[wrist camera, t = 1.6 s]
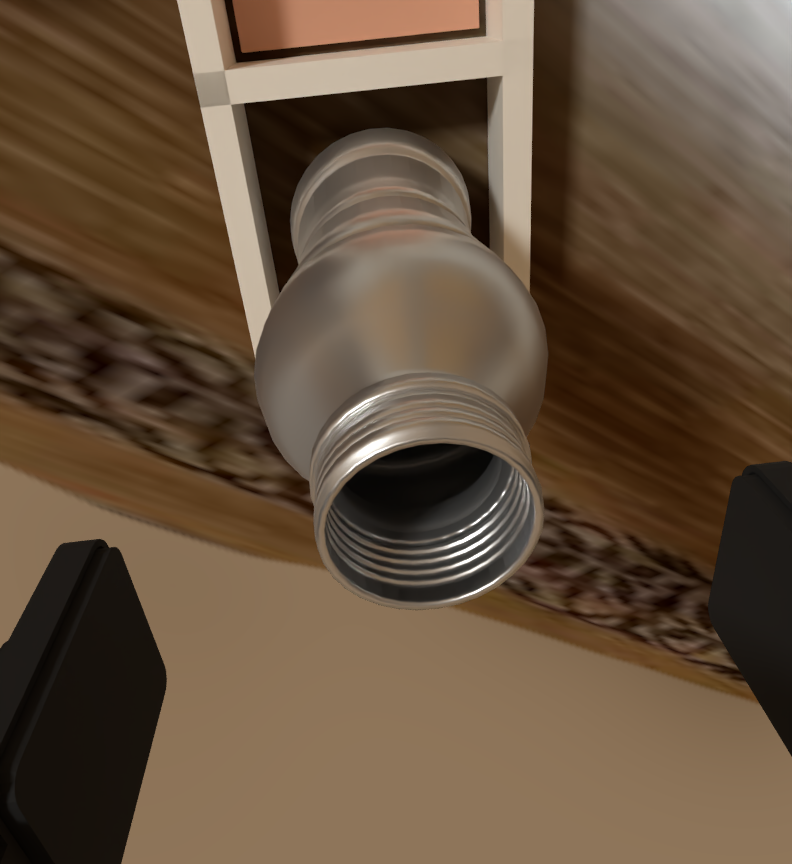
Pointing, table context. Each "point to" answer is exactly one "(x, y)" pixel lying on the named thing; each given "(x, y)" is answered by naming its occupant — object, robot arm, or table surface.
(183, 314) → the table surface
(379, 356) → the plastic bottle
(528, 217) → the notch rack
